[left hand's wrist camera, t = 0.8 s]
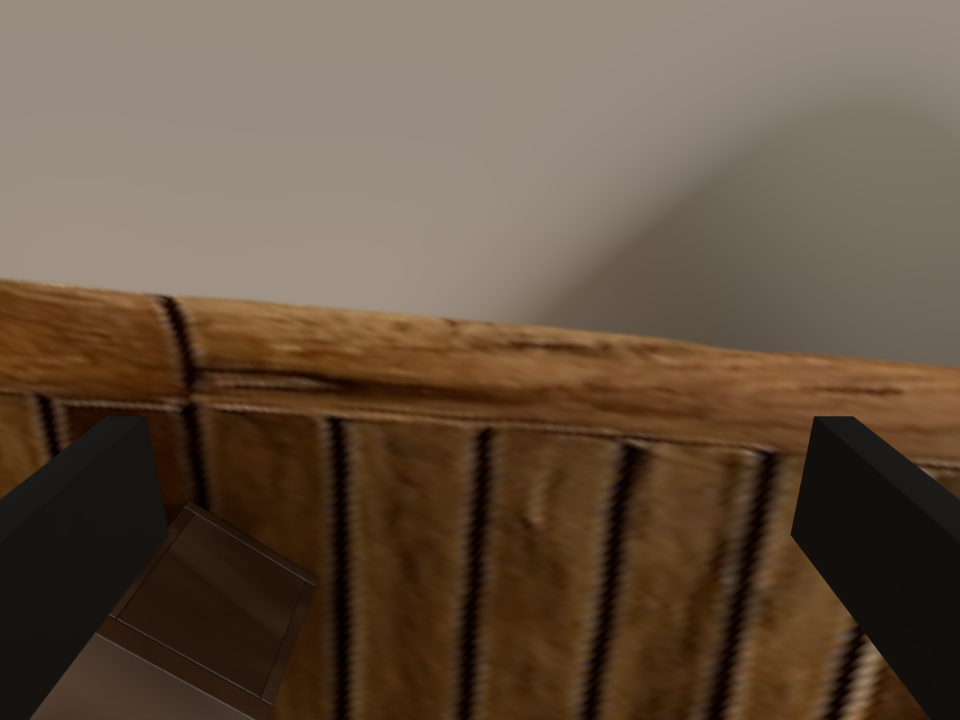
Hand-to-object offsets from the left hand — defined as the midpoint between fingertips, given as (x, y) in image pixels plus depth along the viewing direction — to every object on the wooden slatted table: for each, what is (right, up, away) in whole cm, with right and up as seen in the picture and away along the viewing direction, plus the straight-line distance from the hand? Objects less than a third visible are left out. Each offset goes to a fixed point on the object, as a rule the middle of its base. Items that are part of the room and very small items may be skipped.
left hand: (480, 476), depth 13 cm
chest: (-19, -15, +30) cm, 39 cm away
